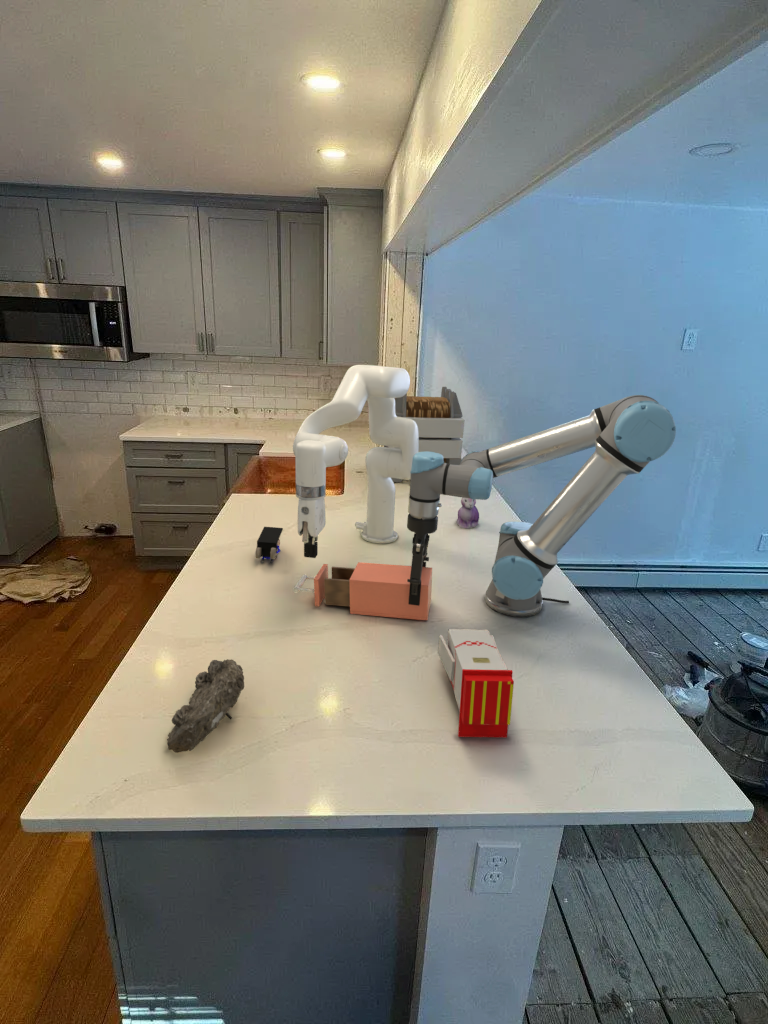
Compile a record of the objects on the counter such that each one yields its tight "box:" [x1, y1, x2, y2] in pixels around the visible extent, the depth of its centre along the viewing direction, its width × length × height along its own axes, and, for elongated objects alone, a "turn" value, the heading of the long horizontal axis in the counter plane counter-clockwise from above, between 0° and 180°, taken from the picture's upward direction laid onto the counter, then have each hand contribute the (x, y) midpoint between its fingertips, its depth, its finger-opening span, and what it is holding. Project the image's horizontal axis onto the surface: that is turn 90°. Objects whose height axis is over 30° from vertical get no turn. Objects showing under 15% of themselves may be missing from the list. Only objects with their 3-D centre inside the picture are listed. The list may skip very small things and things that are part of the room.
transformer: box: [383, 386, 465, 483], centre depth 268 cm, size 34×33×41 cm
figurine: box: [456, 497, 480, 529], centre depth 209 cm, size 9×10×15 cm
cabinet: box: [349, 561, 433, 621], centre depth 148 cm, size 20×11×10 cm, turn 80°
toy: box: [437, 628, 515, 738], centre depth 117 cm, size 12×13×30 cm
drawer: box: [292, 563, 356, 607], centre depth 151 cm, size 25×10×8 cm, turn 80°
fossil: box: [166, 658, 245, 754], centre depth 106 cm, size 22×10×15 cm
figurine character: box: [254, 526, 284, 564], centre depth 176 cm, size 7×8×15 cm
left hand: (310, 556), depth 149 cm, fingers closed
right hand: (416, 593), depth 148 cm, fingers closed on cabinet, 11 cm apart
